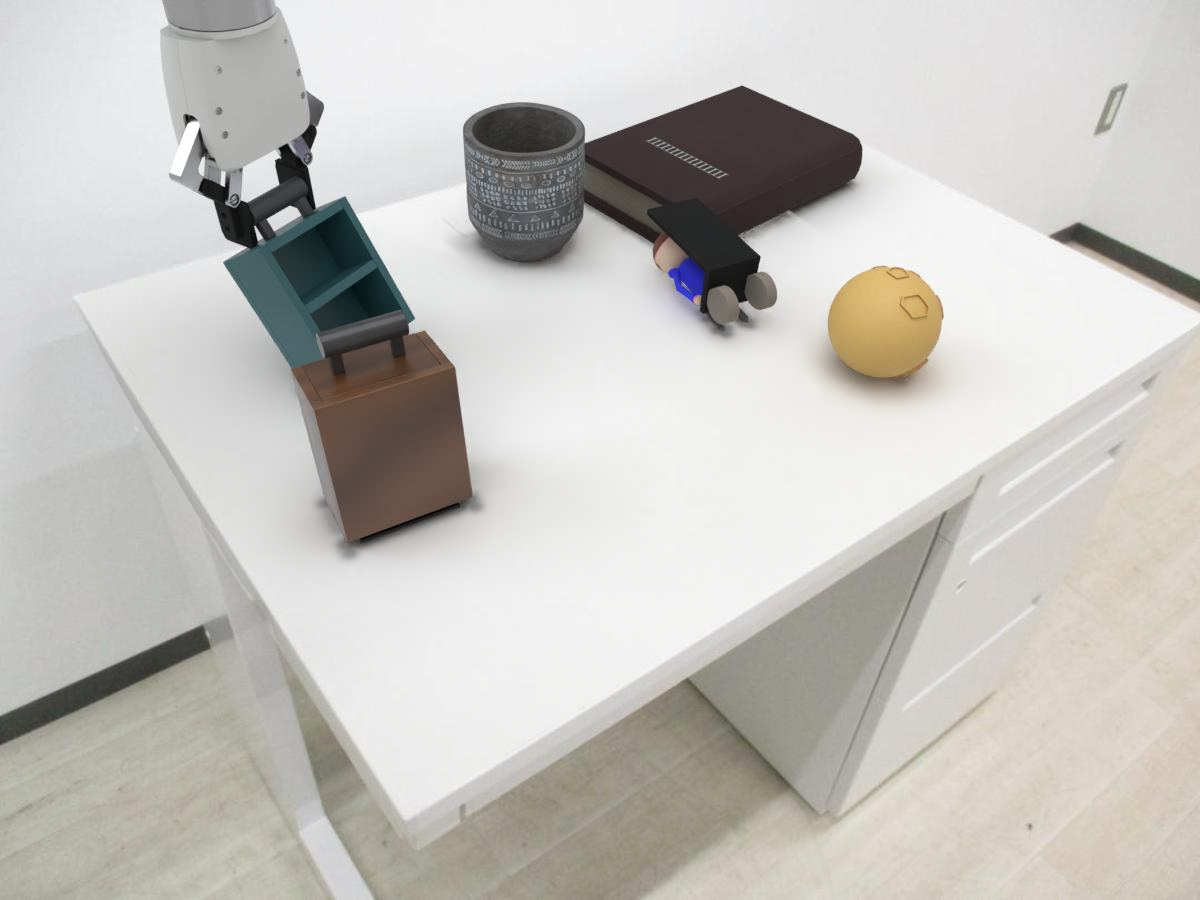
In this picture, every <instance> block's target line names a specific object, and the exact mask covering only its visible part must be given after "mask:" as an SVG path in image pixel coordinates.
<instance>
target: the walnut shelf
mask: <svg viewBox="0 0 1200 900" xmlns="http://www.w3.org/2000/svg"><path fill="white" fill-rule="evenodd" d="M316 339H317V343H318V346H319V349H320V352H321V354H322V356H323V357H324V358H325V359H323V360H319V361H316V362H312V363H309V364H305V365H302V366H299V367H296V368H290V372H291V376H292V380H293V384H294V387H295V391H296V392H295V393H296V395H297V400H298V404H299V406H300V407H299V408H300V411H301V415H302V418H303V422H304V426H305V429H306V433H307V437H308V441H309V444H310V449H311V452H312V456H313V459H314V464H315V467H316V471H317V476H318V478H319V483H320V486H321V491H322V494H323V498H324V500H325V502H326V504H327V506H328V508H329V510H330V511H331V514H332V515H333V517H334V519H335V521H336V523H337V525H338V527H339V529H340V531H341V533H342V535H343V536H344V539H345V540H346V542H347V543H351V542H355V541H357V540H359V538H362V537H365V536H368V535H370V534H373V533H376V532H379V531H381V530H384V529H387V528H389V527H392V526H395V525H398V524H400V523H403V522H406V521H409V520H411V519H414V518H417V517H420V516H422V515H425V514H428V513H430V512H433V511H436V510H439V509H441V508H444V507H447V506H450V505H452V504H455V503H458V502H459V503H460V502H463V501H466V500H469V499H471V498H473V497H474V494H473V488H472V480H471V472H470V467H469V466H470V465H469V458H468V451H467V444H466V437H465V430H464V429H465V428H464V423H463V421H464V420H463V414H462V406H461V399H460V391H459V385H458V377H457V370H456V366H455V365H454V363H453V362H452V361H451V360H450V359H449V358H448V357H447V355H446V354H445V353H444V351H443V350H442V349H441V348H440V347H439V346H438V344H437V343H436V342H435V340H434V339H433V338H432V337H431V336H430V334H429V333H428V332H427V331H426V330H421V331H418V332H413V333H410V326H409V324H408V322H407V319H406V316H405V314H404V313H403V311H402V310H398V311H394V312H390V313H387V314H383V315H380V316H376V317H372V318H369V319H365V320H361V321H358V322H354V323H351V324H347V325H343V326H340V327H336V328H332V329H329V330H325V331H322V332H318V333H316ZM381 342H382V343H381ZM374 344H375V345H374ZM367 346H368V347H367Z"/></svg>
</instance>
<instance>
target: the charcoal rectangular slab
mask: <svg viewBox="0 0 1200 900" xmlns="http://www.w3.org/2000/svg"><path fill="white" fill-rule="evenodd" d="M460 507H461V504H460V502H458V503H455V504H452V505H450V506H447V507H444V508H441V509H439V510H436V511H433V512H430V513H428V514H425V515H422V516H420V517H417V518H414V519H411V520H409V521H406V522H403V523H400V524H398V525H395V526H392V527H389V528H387V529H384V530H381V531H379V532H376V533H373V534H370V535H368V536H365V537H362V538H359V539H358V541H359V543H360V544H363V543H366V542H368V541H371V540H374V539H376V538H379V537H382V536H384V535H387V534H390V533H392V532H395V531H398V530H401V529H404V528H406V527H409V526H412V525H414V524H417V523H420V522H423V521H425V520H428V519H430V518H433V517H436V516H439V515H441V514H444V513H447V512H450V511H452V510H455V509H458V508H460Z"/></svg>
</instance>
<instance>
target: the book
mask: <svg viewBox="0 0 1200 900" xmlns="http://www.w3.org/2000/svg"><path fill="white" fill-rule="evenodd" d="M862 162H863V145H862V143H861V140H860V138H858V137H857V136H856V135H855V134H853V133H851V132H849V131H847V130H845V129H843V128H841V127H838V126H836V125H834V124H832V123H829V122H827V121H825V120H822V119H820V118H817V117H816V116H813V115H811V114H809V113H807V112H804V111H802V110H799V109H797V108H795V107H792V106H790V105H788V104H786V103H783V102H781V101H779V100H777V99H774V98H772V97H770V96H767V95H765V94H763V93H761V92H759V91H756V90H754V89H752V88H749V87H747V86H744V85H738V86H736V87H734V88H731V89H728V90H725V91H723V92H720V93H718V94H714V95H712V96H709V97H706V98H703V99H702V100H698V101H696V102H692V103H690V104H688V105H685V106H683V107H679V108H676V109H673V110H671V111H668V112H666V113H663V114H660V115H657V116H654V117H652V118H650V119H649V118H648V119H646V120H644V121H642V122H639V123H636V124H633V125H630V126H628V127H625V128H622V129H619V130H617V131H614V132H612V133H609V134H606V135H603V136H601V137H598V138H595V139H593V140H592V139H591V140H590V141H587V142H585V170H584V204H587V205H589V206H591V207H592V208H593V209H595V210H597V211H598V212H601V214H604V215H605V216H607V217H609V218H610V219H612V220H614V221H616V222H617V223H619V224H620V225H622V226H624V227H625V228H627V229H629V230H631V231H632V232H633V233H635V234H637V235H639V236H641V237H642V238H643V239H645V240H647V241H649V242H650V243H652V244H653V245H654V244H655V241H656V240H657V238H658V237H659V236H660V235H661V234H662V233H663V232H664V231H663V230H662V229H661V228H660V227H659V226H658V225H657V224H656V223H655V222H654V221H653V220H652V219H651V218H650V217H649V216H648V215H647V210H648V209H651V208H655V207H660V206H664V205H668V204H672V203H677V202H681V201H685V200H689V199H694V198H698V199H699V200H700V201H701V202H702V203H703V204H704V205H705V206H707V207H708V208H709V209H710V210H711V211H712V212H713V213H714V214H715V215H716V216H717V217H718V218H720V219H721V220H722V221H723V222H724V223H725V224H726V225H727V226H728V227H729V228H730V229H731V230H733V231H734V232H735V233H736V234H737V235H738V236H739V235H741V234H744V233H746V232H748V231H750V230H752V229H754V228H756V227H758V226H760V225H762V224H764V223H767V222H768V221H770V220H772V219H775V218H777V217H779V216H781V215H784V214H785V213H787V212H789V211H791V210H793V209H795V208H797V207H799V206H801V205H804V204H806V203H808V202H810V201H812V200H814V199H816V198H819V197H820V196H823V195H825V194H827V193H829V192H831V191H832V190H834V189H837V188H839V187H841V186H843V185H845V184H847V183H849V182H851V181H853V180H855V179H856V177H857V175H858V173H859V171H860V169H861V166H862Z"/></svg>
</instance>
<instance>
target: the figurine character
mask: <svg viewBox="0 0 1200 900" xmlns="http://www.w3.org/2000/svg"><path fill="white" fill-rule="evenodd" d="M647 215H648V216H649V217H650V218H651V219H652V220H653V221H654V222H655V223H656V224H657V225H658V226H659V227H660V228H661V229H662V230H663V231H664V232H663V233H662V234H661V235H660V236H659V237H658V238H657V240H656V241H655V244H654V243H653V247H652V258H653V261H654V264H655V265H656V267H657V269H659V270H660V271H661V272H662V273H663V274H665V275H667V276H668V277H669V278H670V279H673V284H674V287H675V291H676V292H677V293H679V294H680V295H682V296H683V297H685V299H687V300H688V301H690V302H691V303H693V304H694V305H695V306H696V307H699V312H700V313H701V314H702V315H704V314H705V316H707V318H708V319H709V320H710V321H711V322H712V323H713V324H714V326H716V328H717V329H718V330H721V331H725V325H726V324H729V323H732V322H736V321H737V320H739V321H740V322H742V323H749V315H748V314H747V313H746V312H744V310H743V309H742V308H741V307H740V304H741V303H746V302H748V304H749V305H750V306H751V307H752V308H753V309H755V310H757V311H762V310H765V309H768V308H772V307H774V306H775V305H776V303H777V300H778V290H777V286H776V283H775V281H774V279H773V278H772V276H771V275H770V274H769V273H767V272H765V271H759V268H760V262H761V258H762V256H761V255H760V254H759V253H758V252H757V251H755V249H754V248H752V247H751V246H750V245H749V244H748V243H747V242H746V241H745V240H744V239H743V238H741V237H740V236H739V235H737V234H736V233H735V232H734V231H733V230H731V229H730V228H729V227H728V226H727V225H726V224H725V223H724V222H723V221H722V220H721V219H720V218H718V217H717V216H716V215H715V214H714V213H713V212H712V211H711V210H710V209H709V208H708V207H707V206H705V205H704V204H703V203H702V202H701V201H700V200H699V199H698V198H694V199H689V200H685V201H681V202H677V203H672V204H668V205H664V206H660V207H655V208H651V209H648V210H647Z"/></svg>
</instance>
